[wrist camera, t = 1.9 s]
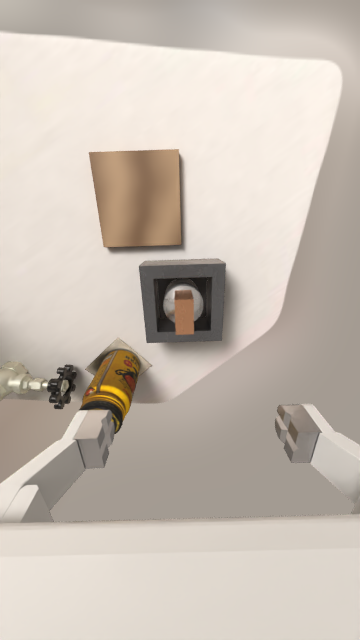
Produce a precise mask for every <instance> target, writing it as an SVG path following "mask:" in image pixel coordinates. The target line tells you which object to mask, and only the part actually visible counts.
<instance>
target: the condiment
mask: <svg viewBox="0 0 360 640" xmlns="http://www.w3.org/2000/svg"><path fill="white" fill-rule="evenodd" d="M151 366H152V365H151V364H149V363H148V362H147V361H146V360H145V359H144V358H142V357H141V356H140V355H139V354H138V353H137V352H135V351H134V350H133V349H132V348H130V347H129V346H128V345H127V344H125V343H124V342H123V341H122V340H120V339H119V338H117V339H116V340H115V341H114V342H113V343H112V344H111V345H110V346H109V347H108V348H107V349H105V350H104V351H103V352H102V353H101V354H100V355H99V356H98V357H97V358H96V359H95V360H94V361H93V362H92V363H91V364H90V365H89V366H88V367H87V368H86V369H85V370H87V371H88V372H90V373H91V374H93V375H94V376H95V377H94V378H93V380H92V382H91V384H90V385H89V387H88V389H87V390H86V392H85V394H84V396H83V402H82V406H81V408H80V409H79V410H111V412H112V418H111V421H112V422H113V423H114V428H115V432H114V434H116V433H117V432H118V431H119V430H120V428H121V426H122V422H123V420H124V418H125V415H126V414H127V413H128V411H129V408H130V406H131V402H132V398H133V394H134V390H135V387H136V383H137V380H138V377H139V376H140V375H141V374H142V373H143V372H144V371H146V370H147V369H148V368H149V367H151Z"/></svg>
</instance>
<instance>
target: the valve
mask: <svg viewBox="0 0 360 640" xmlns="http://www.w3.org/2000/svg"><path fill="white" fill-rule="evenodd" d="M72 370H73V365H65V367H64V368H60V367H59V368H58V369H57V374H60V376H59V378H58V379H51V380H50V381H49V382H47V381H46V379H43V378H36V379H35V380H33V379H32V376H31V375H30V374H27V372H28V370H27V369H26V368H25V367H24V366H23V365H22V363H20V362H7V363H6V364H4V365H3V366H2V367H1V368H0V401H1V400H2V399H3V397H4V396H7V395H9V394H10V393H12V392H14V393H16V394H25V393H27V392H28V391H29V390H30V389H32V390H34V391H43V390H44V389H45V388H47V391H48V392H51V396H50V398H49V402H50V403H58V405H54V408H55V409H63V407H64V404H68V403H70V401H71V397H70V393H71V391H74V390H75V388H76V385H75V384H73V380H74V379H75V378H76V375H77V374H76V372H72ZM67 380H68V381H67ZM65 391H66V392H65ZM61 392H65V394H64V395H63V396H61Z"/></svg>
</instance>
